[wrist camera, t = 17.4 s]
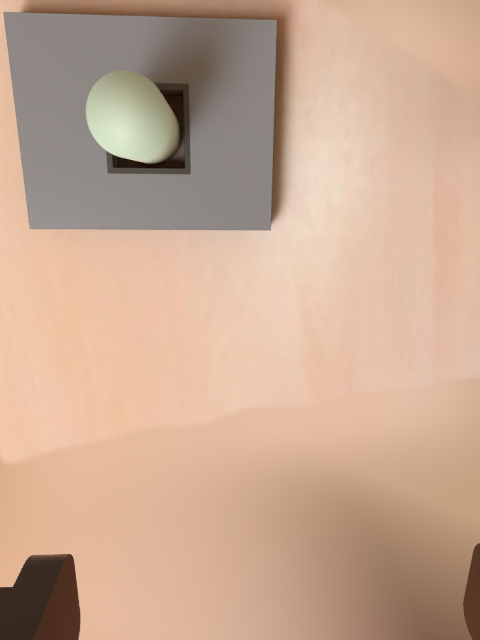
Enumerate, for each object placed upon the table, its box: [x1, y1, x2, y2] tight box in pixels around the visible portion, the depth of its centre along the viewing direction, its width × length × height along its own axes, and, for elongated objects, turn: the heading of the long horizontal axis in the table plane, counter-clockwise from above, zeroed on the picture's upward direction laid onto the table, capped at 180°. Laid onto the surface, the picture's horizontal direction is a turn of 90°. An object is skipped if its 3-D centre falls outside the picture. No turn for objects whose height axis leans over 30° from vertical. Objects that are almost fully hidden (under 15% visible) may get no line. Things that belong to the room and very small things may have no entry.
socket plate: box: [3, 12, 277, 230], centre depth 33 cm, size 18×14×2 cm
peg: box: [86, 70, 181, 164], centre depth 30 cm, size 4×4×10 cm
